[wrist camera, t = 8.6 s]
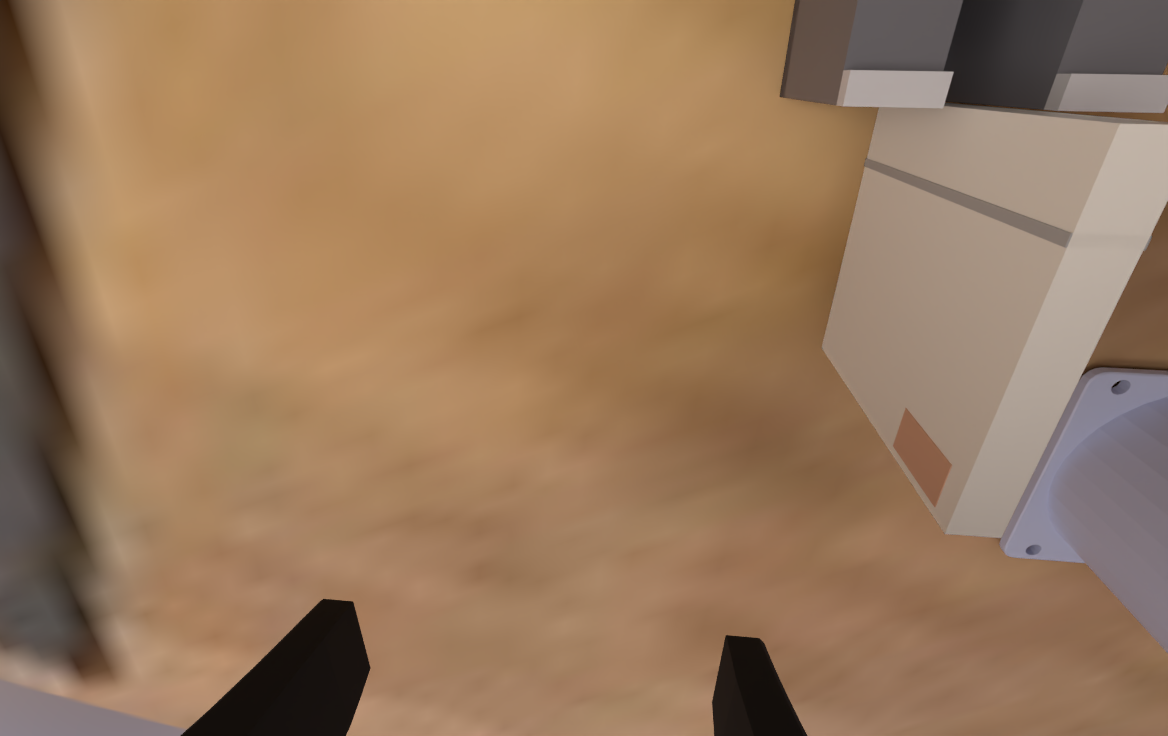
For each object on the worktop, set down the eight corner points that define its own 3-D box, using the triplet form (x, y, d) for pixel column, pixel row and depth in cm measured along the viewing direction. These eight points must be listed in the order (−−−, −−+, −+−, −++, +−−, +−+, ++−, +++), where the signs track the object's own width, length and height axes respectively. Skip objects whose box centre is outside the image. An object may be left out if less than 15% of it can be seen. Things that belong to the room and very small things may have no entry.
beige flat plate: (923, 100, 14) (1207, 125, 7) (855, 350, 17) (1003, 538, 10) (879, 100, 14) (1117, 123, 7) (820, 347, 17) (942, 533, 10)
